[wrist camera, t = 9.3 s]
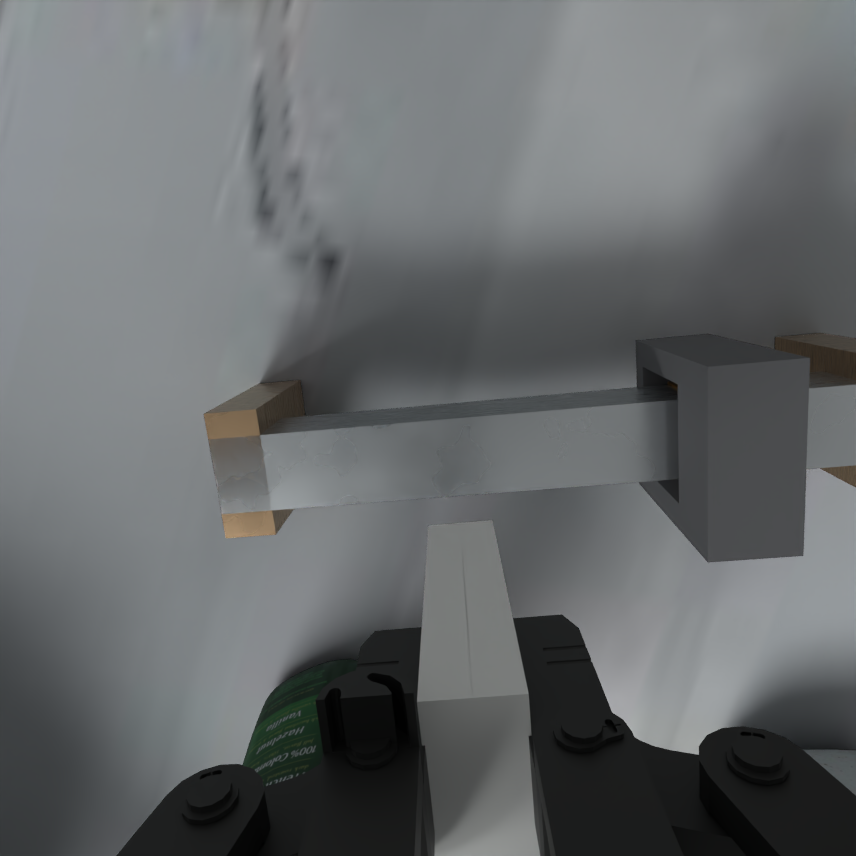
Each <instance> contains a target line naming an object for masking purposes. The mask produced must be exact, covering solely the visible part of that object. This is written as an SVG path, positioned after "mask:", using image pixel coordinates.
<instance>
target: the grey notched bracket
mask: <svg viewBox="0 0 856 856" xmlns="http://www.w3.org/2000/svg"><path fill="white" fill-rule="evenodd" d="M636 368H637V387H647V386H659V385H668V382H671V381H672V382H674V383H676V384H678V457H679V479H672V480H659V481H646V482H639V484H640V485H641V486H642V487H643V488H644V489H645V491H646V492H647V493H648V494H649V495H650V496H651V498H652V499H653V500H654V501H655V502H656V503H657V504H658V506H659V507H660V508H661V509H662V510H663V511H664V512H665V514H666V515H667V516H668V517H669V518H670V519H671V521H672V522H673V523H674V524H675V525H676V526H677V527H678V529H679V530H680V531H681V532H682V533H683V534H684V535H685V537H686V538H687V539H688V540H689V541H690V542H691V544H692V545H693V546H694V547H695V548H696V549H697V550H698V552H699V553H700V554H701V555H702V556H703V557H704V558H705V560H706V561H707V562H719V561H734V560H748V559H763V558H778V557H792V556H803V549H804V520H805V491H806V462H807V433H808V404H809V375H810V358H809V357H805V356H800V355H796V354H792V353H788V352H783V351H779V350H775V349H770V348H766V347H762V346H758V345H753V344H749V343H745V342H741V341H736V340H732V339H728V338H724V337H719V336H715V335H711V334H701V335H690V336H679V337H668V338H657V339H646V340H636Z"/></svg>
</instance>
